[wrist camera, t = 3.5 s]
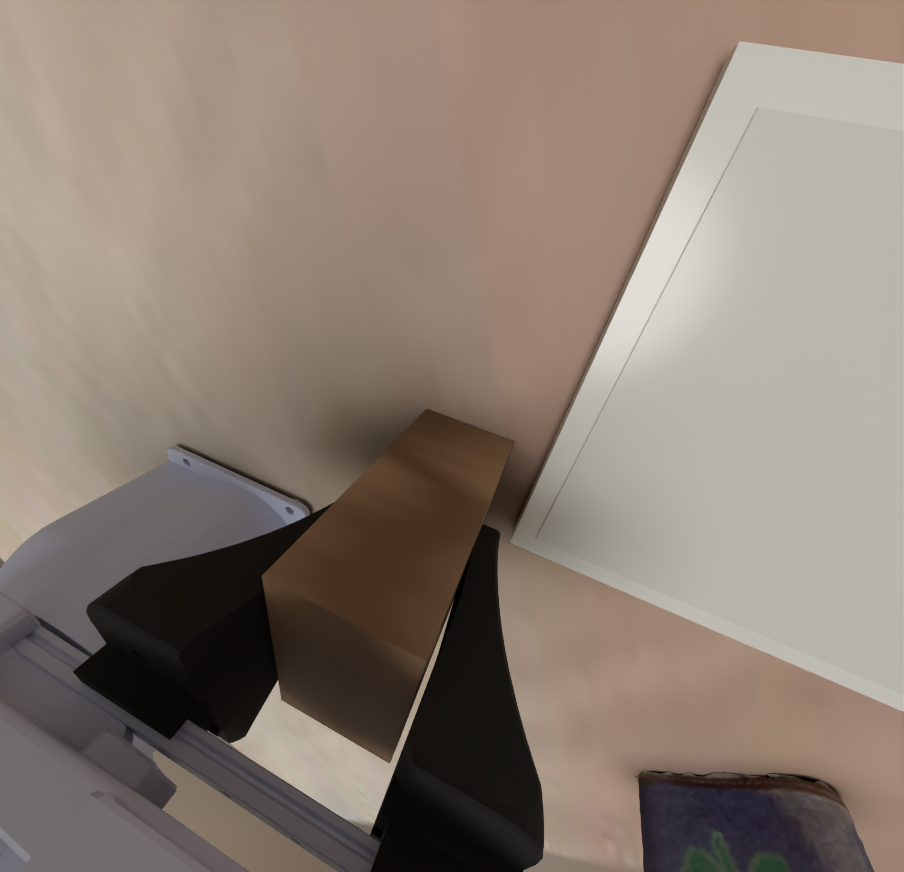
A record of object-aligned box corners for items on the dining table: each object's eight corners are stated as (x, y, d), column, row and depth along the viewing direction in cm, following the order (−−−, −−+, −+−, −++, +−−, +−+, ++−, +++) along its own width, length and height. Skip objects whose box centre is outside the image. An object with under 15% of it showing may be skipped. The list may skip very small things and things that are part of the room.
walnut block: (405, 516, 17) (281, 700, 10) (426, 408, 13) (261, 576, 7) (474, 547, 16) (390, 763, 9) (514, 441, 13) (426, 661, 6)
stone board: (513, 529, 15) (509, 544, 14) (725, 60, 7) (740, 38, 6) (897, 690, 12) (917, 720, 11) (1898, 234, 4) (2168, 232, 4)
